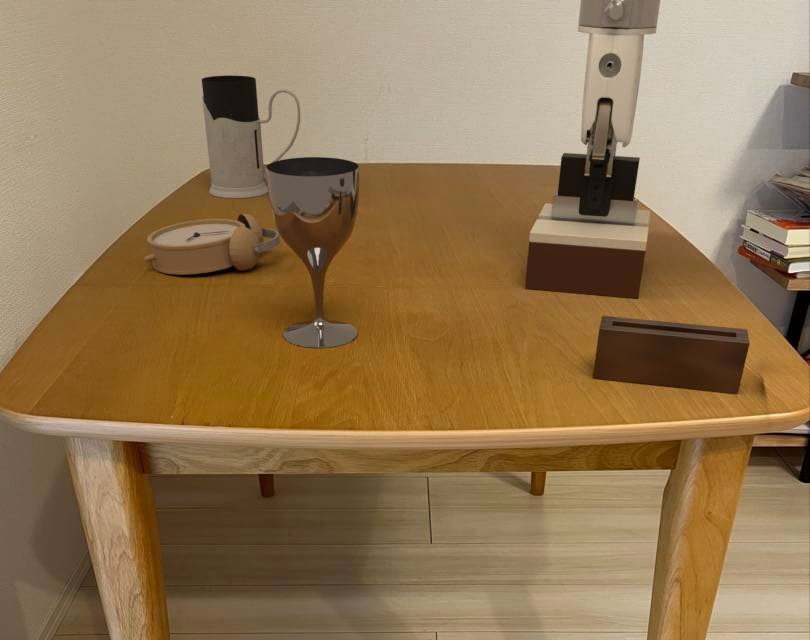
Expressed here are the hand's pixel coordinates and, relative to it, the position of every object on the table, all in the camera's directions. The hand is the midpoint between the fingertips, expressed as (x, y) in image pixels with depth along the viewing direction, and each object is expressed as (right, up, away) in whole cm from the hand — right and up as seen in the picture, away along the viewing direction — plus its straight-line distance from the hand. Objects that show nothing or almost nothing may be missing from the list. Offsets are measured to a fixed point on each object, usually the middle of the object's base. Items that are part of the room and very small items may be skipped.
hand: (594, 210), depth 95 cm
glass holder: (-43, +16, +36) cm, 58 cm away
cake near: (-1, -8, +1) cm, 8 cm away
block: (+2, -22, -19) cm, 29 cm away
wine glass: (-29, -16, -11) cm, 35 cm away
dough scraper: (0, -5, +3) cm, 6 cm away
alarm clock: (-42, -4, +7) cm, 43 cm away
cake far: (+1, -4, +7) cm, 8 cm away
